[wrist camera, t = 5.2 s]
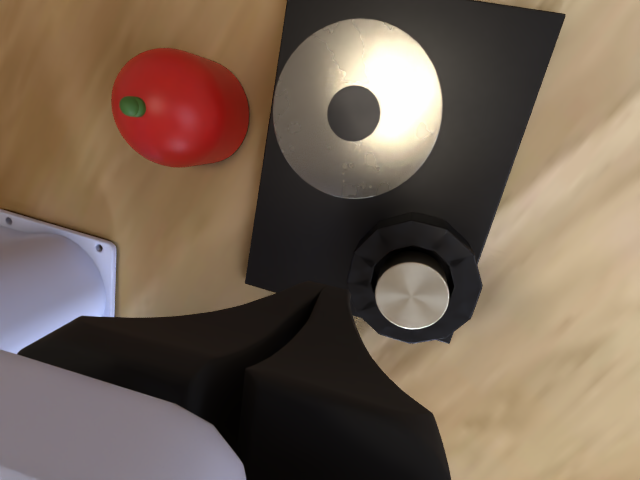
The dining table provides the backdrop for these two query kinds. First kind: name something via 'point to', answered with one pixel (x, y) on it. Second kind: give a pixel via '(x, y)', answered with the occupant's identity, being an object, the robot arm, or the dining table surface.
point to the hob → (430, 179)
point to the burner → (357, 108)
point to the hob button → (412, 290)
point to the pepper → (179, 108)
